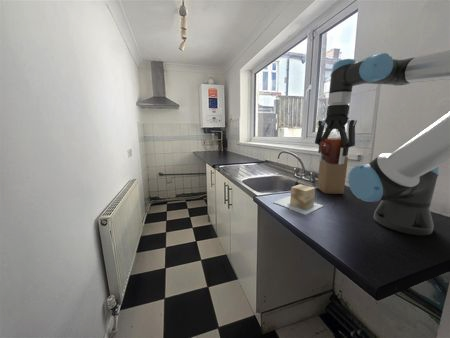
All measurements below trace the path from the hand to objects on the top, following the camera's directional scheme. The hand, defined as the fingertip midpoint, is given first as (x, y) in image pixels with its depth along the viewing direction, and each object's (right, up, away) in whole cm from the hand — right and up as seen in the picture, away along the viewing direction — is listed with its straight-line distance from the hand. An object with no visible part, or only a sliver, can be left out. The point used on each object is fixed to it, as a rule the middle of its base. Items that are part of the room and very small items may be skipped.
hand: (331, 162), depth 78 cm
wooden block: (+12, -15, +23) cm, 30 cm away
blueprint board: (-12, -19, +5) cm, 23 cm away
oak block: (-11, -19, +4) cm, 22 cm away
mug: (0, -1, +1) cm, 1 cm away
